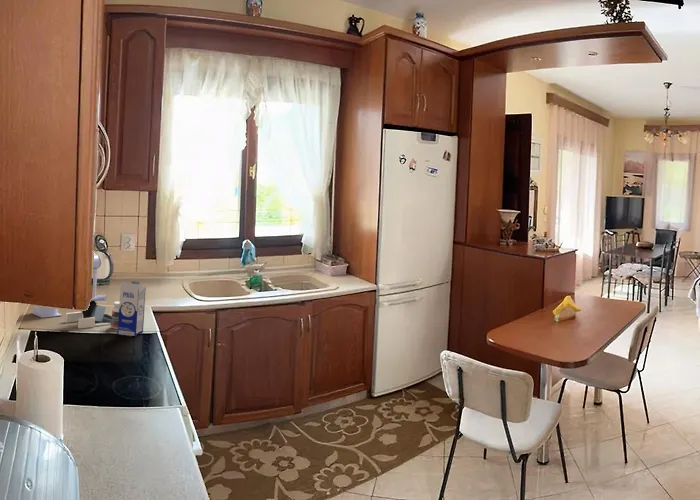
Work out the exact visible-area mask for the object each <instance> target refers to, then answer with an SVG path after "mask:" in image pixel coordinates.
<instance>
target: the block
mask: <svg viewBox="0 0 700 500" xmlns="http://www.w3.org/2000/svg"><path fill="white" fill-rule="evenodd" d="M106 308H107V307H106V306H102V305H98V304H96V306H95V308H94V309H93V311H92V313H91V316H90V317H95V322H100V323H103V321H102V319H103V316H104V314H105V313H106V310H107V309H106Z"/></svg>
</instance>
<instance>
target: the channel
mask: <svg viewBox="0 0 700 500" xmlns="http://www.w3.org/2000/svg"><path fill="white" fill-rule="evenodd" d="M73 322H75V323H76V322H77V329H85V328H86V329H87V328H94V327H104V326H111V323H106V322H100V323H96V321H95V317H90V318H83V313H82V311H75V312H66V313H65V323H73Z"/></svg>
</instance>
